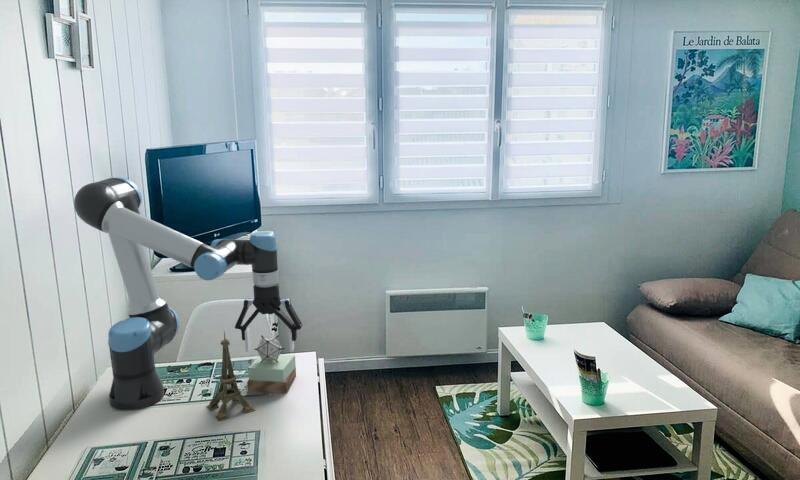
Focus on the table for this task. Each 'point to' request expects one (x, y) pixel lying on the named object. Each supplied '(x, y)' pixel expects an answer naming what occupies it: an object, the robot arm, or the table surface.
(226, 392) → the eiffel tower
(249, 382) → the base block
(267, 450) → the table surface
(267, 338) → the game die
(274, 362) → the top block
